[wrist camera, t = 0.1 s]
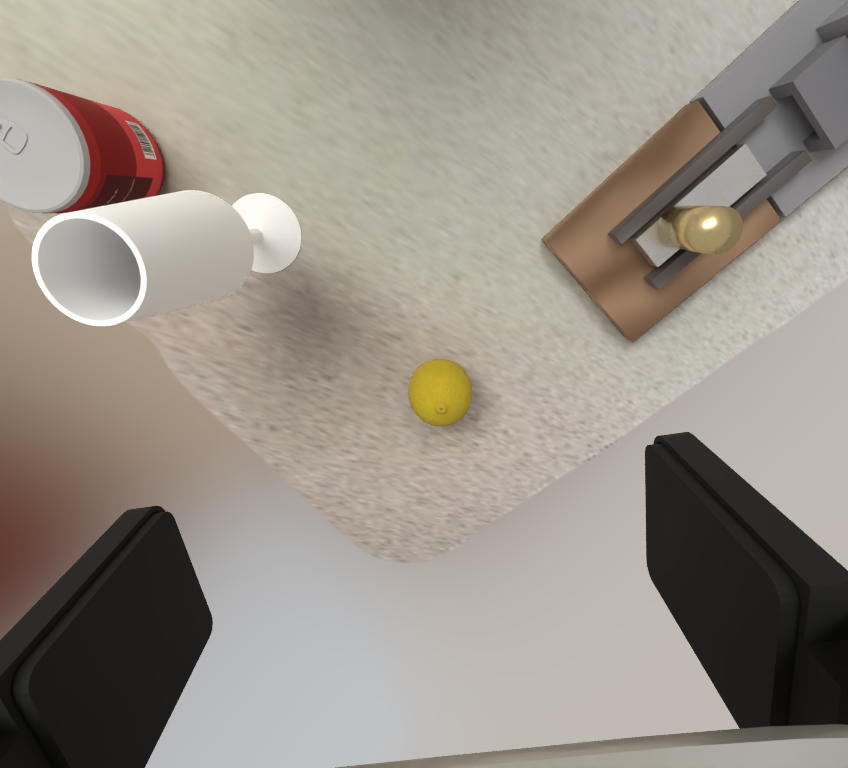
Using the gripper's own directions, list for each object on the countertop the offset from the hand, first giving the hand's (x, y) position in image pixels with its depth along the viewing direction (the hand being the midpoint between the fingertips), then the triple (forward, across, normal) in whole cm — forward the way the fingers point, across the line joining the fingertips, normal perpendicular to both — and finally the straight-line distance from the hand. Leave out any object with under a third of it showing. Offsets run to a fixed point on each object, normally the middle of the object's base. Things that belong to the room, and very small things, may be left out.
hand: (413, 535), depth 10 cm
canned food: (+37, +23, -13) cm, 46 cm away
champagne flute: (+37, +13, -6) cm, 40 cm away
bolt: (+35, -22, -2) cm, 42 cm away
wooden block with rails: (+37, -21, -2) cm, 43 cm away
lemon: (+37, 0, +10) cm, 39 cm away
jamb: (+37, -33, -9) cm, 50 cm away
